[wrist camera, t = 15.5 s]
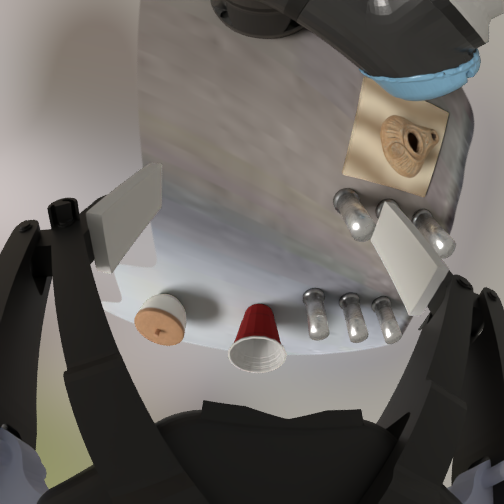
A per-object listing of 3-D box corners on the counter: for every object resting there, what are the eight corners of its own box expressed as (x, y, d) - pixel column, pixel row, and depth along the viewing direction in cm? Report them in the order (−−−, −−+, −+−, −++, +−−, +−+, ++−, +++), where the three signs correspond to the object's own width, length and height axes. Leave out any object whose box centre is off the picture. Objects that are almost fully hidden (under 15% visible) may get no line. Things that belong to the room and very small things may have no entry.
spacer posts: (337, 185, 41) (354, 212, 33) (433, 211, 42) (461, 239, 33) (300, 302, 55) (304, 340, 47) (384, 311, 56) (397, 345, 47)
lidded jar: (179, 282, 54) (166, 315, 46) (198, 318, 59) (190, 350, 52) (138, 288, 56) (122, 319, 48) (159, 321, 61) (147, 352, 54)
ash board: (363, 77, 31) (365, 76, 30) (445, 112, 31) (448, 113, 31) (341, 172, 40) (343, 174, 39) (421, 195, 40) (424, 197, 39)
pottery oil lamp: (434, 162, 36) (457, 175, 30) (373, 169, 38) (390, 184, 32) (431, 111, 31) (455, 117, 25) (365, 115, 33) (384, 120, 28)
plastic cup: (292, 299, 55) (295, 346, 45) (276, 332, 61) (276, 376, 51) (239, 288, 54) (233, 335, 44) (229, 323, 60) (223, 367, 50)
